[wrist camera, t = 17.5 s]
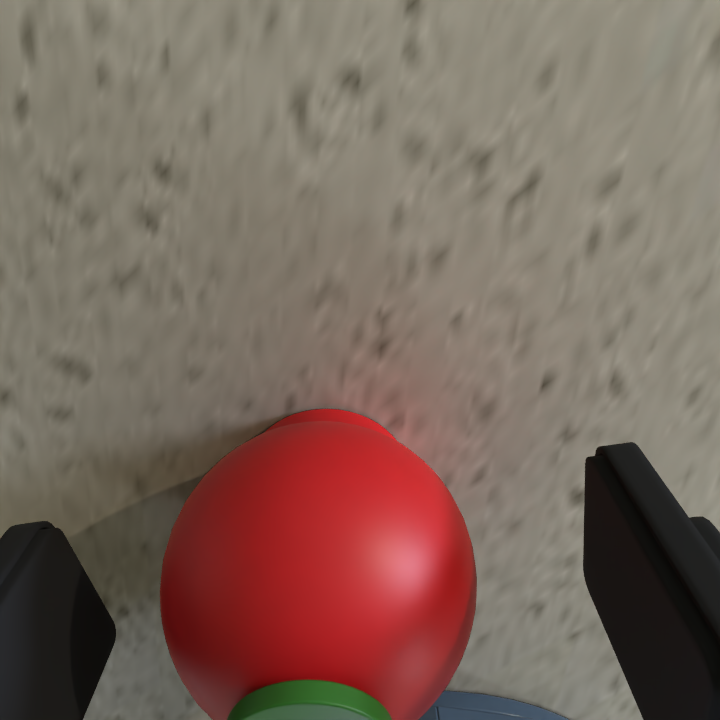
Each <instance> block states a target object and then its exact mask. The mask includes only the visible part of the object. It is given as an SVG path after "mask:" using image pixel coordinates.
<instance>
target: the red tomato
mask: <svg viewBox="0 0 720 720" xmlns="http://www.w3.org/2000/svg"><path fill="white" fill-rule="evenodd" d="M476 591H477V576H476V567H475V560H474V553H473V547H472V543H471V540H470V537H469V534H468V530H467V527H466V524H465V521H464V518H463V516H462V514H461V512H460V510H459V508H458V506H457V504H456V503H455V501H454V499H453V497H452V495H451V493H450V492H449V490H448V489H447V488H446V486H445V485H444V483H443V482H442V481H441V479H440V478H439V477H438V476H437V475H436V473H435V472H434V471H433V470H432V469H431V468H430V467H429V466H428V465H427V464H426V463H425V462H424V461H423V460H422V459H421V458H420V457H418V456H417V455H416V454H414V453H413V452H412V451H411V450H409V449H408V448H406V447H405V446H404V445H402V444H401V443H399V442H397V441H396V439H395V438H394V437H393V436H392V435H391V434H390V433H389V432H388V431H387V430H386V429H385V428H383V427H382V426H381V425H379V424H378V423H376V422H374V421H373V420H371V419H369V418H367V417H364V416H362V415H359V414H356V413H353V412H349V411H344V410H338V409H315V410H308V411H303V412H300V413H296V414H293V415H291V416H288V417H286V418H284V419H282V420H280V421H278V422H277V423H275V424H274V425H273V426H271V427H270V428H269V429H267V430H266V431H265V432H264V433H262V434H260V435H258V436H256V437H254V438H253V439H251V440H249V441H247V442H245V443H243V444H242V445H240V446H238V447H237V448H235V449H234V450H233V451H231V452H230V453H228V454H227V455H226V456H224V457H223V458H222V459H221V460H220V461H219V462H218V463H217V464H216V465H215V466H214V467H213V468H212V469H211V470H210V471H209V472H208V473H207V474H206V475H205V476H204V477H203V478H202V479H201V481H200V482H199V484H198V485H197V486H196V488H195V489H194V490H193V492H192V493H191V494H190V496H189V497H188V499H187V500H186V502H185V504H184V506H183V508H182V510H181V512H180V514H179V516H178V518H177V520H176V522H175V524H174V526H173V528H172V531H171V534H170V538H169V541H168V544H167V548H166V551H165V555H164V559H163V565H162V573H161V584H160V607H161V618H162V625H163V630H164V634H165V639H166V643H167V646H168V649H169V653H170V656H171V658H172V660H173V663H174V665H175V668H176V670H177V672H178V674H179V676H180V678H181V680H182V682H183V683H184V685H185V686H186V688H187V689H188V691H189V692H190V694H191V695H192V697H193V698H194V700H195V701H196V702H197V704H198V705H199V706H200V707H201V708H202V709H203V710H204V711H205V712H206V713H207V714H208V715H209V716H210V717H211V718H212V719H213V720H418V719H419V718H421V717H422V716H423V715H424V714H425V713H426V712H427V710H428V709H429V708H430V707H431V706H432V705H433V704H434V702H435V701H436V700H437V699H438V698H439V696H440V695H441V694H442V692H443V691H444V690H445V688H446V687H447V685H448V684H449V682H450V680H451V678H452V677H453V675H454V673H455V671H456V670H457V668H458V666H459V663H460V661H461V659H462V657H463V654H464V652H465V649H466V646H467V643H468V640H469V637H470V633H471V629H472V625H473V620H474V614H475V607H476Z"/></svg>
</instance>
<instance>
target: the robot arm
mask: <svg viewBox="0 0 720 720" xmlns="http://www.w3.org/2000/svg"><path fill="white" fill-rule="evenodd" d="M583 571H584V577H585V581H586V585H587V588H588V590H589V593H590V595H591V598H592V600H593V602H594V605H595V607H596V609H597V612H598V614H599V616H600V619H601V621H602V623H603V626H604V628H605V630H606V633H607V635H608V637H609V640H610V642H611V644H612V647H613V649H614V651H615V654H616V656H617V658H618V661H619V663H620V665H621V668H622V670H623V673H624V675H625V677H626V680H627V682H628V684H629V687H630V689H631V691H632V694H633V696H634V698H635V701H636V703H637V705H638V708H639V710H640V712H641V715H642V717H643V719H644V720H720V532H719V531H718V530H717V528H716V527H715V526H714V525H713V524H712V523H711V522H710V521H709V520H707V519H706V518H704V517H691V518H689V517H688V516H687V514H686V513H685V512H684V510H683V509H682V507H681V506H680V505H679V503H678V502H677V500H676V499H675V498H674V496H673V495H672V493H671V492H670V491H669V489H668V488H667V486H666V485H665V483H664V482H663V481H662V479H661V478H660V476H659V475H658V474H657V472H656V471H655V469H654V468H653V467H652V465H651V464H650V462H649V461H648V460H647V458H646V457H645V455H644V454H643V452H642V451H641V450H640V448H639V447H638V446H637V445H636V444H635V443H633V442H630V443H622V444H615V445H608V446H600V447H598V448H597V450H596V454H595V456H592V457H587V458H586V463H585V506H584V555H583ZM115 638H116V628H115V624H114V621H113V620H112V618H111V616H110V614H109V613H108V611H107V609H106V607H105V605H104V604H103V602H102V600H101V598H100V597H99V595H98V593H97V591H96V590H95V588H94V586H93V584H92V583H91V581H90V579H89V577H88V575H87V574H86V572H85V570H84V568H83V567H82V565H81V563H80V561H79V560H78V558H77V556H76V554H75V553H74V551H73V549H72V547H71V546H70V544H69V542H68V540H67V538H66V537H65V535H64V533H63V532H62V531H61V530H60V529H59V528H55V527H54V526H53V525H52V524H51V523H50V522H48V521H41V522H34V523H26V524H19V525H14V526H12V527H10V528H9V529H8V530H7V531H6V532H5V533H4V535H3V536H2V537H1V539H0V720H83V718H84V715H85V713H86V711H87V708H88V706H89V703H90V701H91V699H92V696H93V694H94V691H95V689H96V687H97V684H98V682H99V679H100V677H101V675H102V672H103V670H104V667H105V665H106V663H107V660H108V658H109V655H110V653H111V651H112V648H113V646H114V643H115Z"/></svg>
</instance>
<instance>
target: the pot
mask: <svg viewBox="0 0 720 720" xmlns="http://www.w3.org/2000/svg"><path fill="white" fill-rule="evenodd" d="M418 720H569V719H567V718H565V717H563V716H561V715H558V714H556V713H553V712H551V711H548V710H546V709H543V708H541V707H538V706H534V705H531V704H527V703H524V702H520V701H516V700H513V699H508V698H502V697H497V696H491V695H486V694H478V693H468V692H457V691H443V692H442V694H441V695H440V696H439V698H438V699H437V700H436V701H435V702H434V704H433V705H432V706H431V707H430V708H429V709H428V710H427V712H426V713H425V714H424V715H423V716H422V717H421V718H419V719H418Z"/></svg>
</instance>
